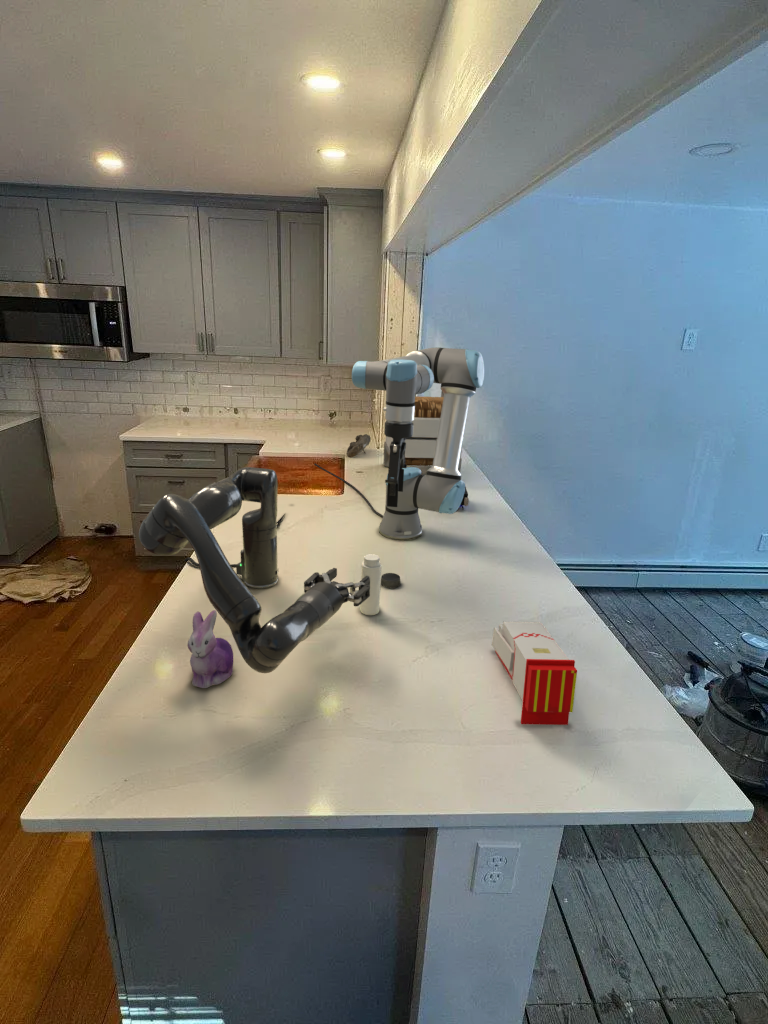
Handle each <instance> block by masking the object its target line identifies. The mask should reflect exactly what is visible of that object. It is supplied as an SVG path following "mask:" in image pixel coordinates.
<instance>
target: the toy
mask: <svg viewBox="0 0 768 1024" xmlns="http://www.w3.org/2000/svg"><path fill="white" fill-rule="evenodd" d="M491 646H492V647H493V649H494V652H495V654H496V656H497V657H498V659H499V661H500V662H501V664H502V666H503V668H504V669H505V671H506V672H507V675H508V676H509V678H510V679H511V681H512V684H513V685H514V687H515V689H516V691H517V693H518V695H519V697H520V699H521V702H522V703H521V715H520V725H537V726H538V725H539V726H541V725H543V726H568V725H569V719H570V713H573V712H574V703H575V694H576V685H577V678H578V677H577V676H578V669H577V668H576V667H575V664H576V660H575V659H569V657H568V656H567V655H566V653H565V651H563V650H562V648H561V647H560V646H559V644H558V643H557V642H556V640H555V639H554V637H553V636H552V635H551V633H550V632H549V631H548V629H547V628H546V627H545V625H544V624H543V622H541V621H502V623H499V624H498V628H497V627H493V630H492V640H491Z"/></svg>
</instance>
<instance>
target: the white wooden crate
mask: <svg viewBox="0 0 768 1024" xmlns="http://www.w3.org/2000/svg"><path fill="white" fill-rule="evenodd" d="M440 393H441V394H440V396H415V411H414V420H413V421H412V423H413V436H412V437H410V438H405V443H406V449H405V464H406V465H407V467H417V466H418V467H431V466H432V465H433V460H434V454H435V448H436V441H437V435H438V429H439V423H440V417H441V411H442V405H443V399H444V393H443V392H442V391H441V392H440ZM386 421H388V420H386V419H385V422H386ZM391 442H393V438H391V437H387V436H385V438H384V442H383V466H384V467H388V468H389V459H390V457H389V455H390V444H391ZM463 442H464V441H463ZM463 442H462V444H463ZM462 453H463V447H462V448H461V454H460V460H459V466H458V471H459V472H460V474H461V475H462V473H461V472H462V461H463V460H462Z"/></svg>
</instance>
